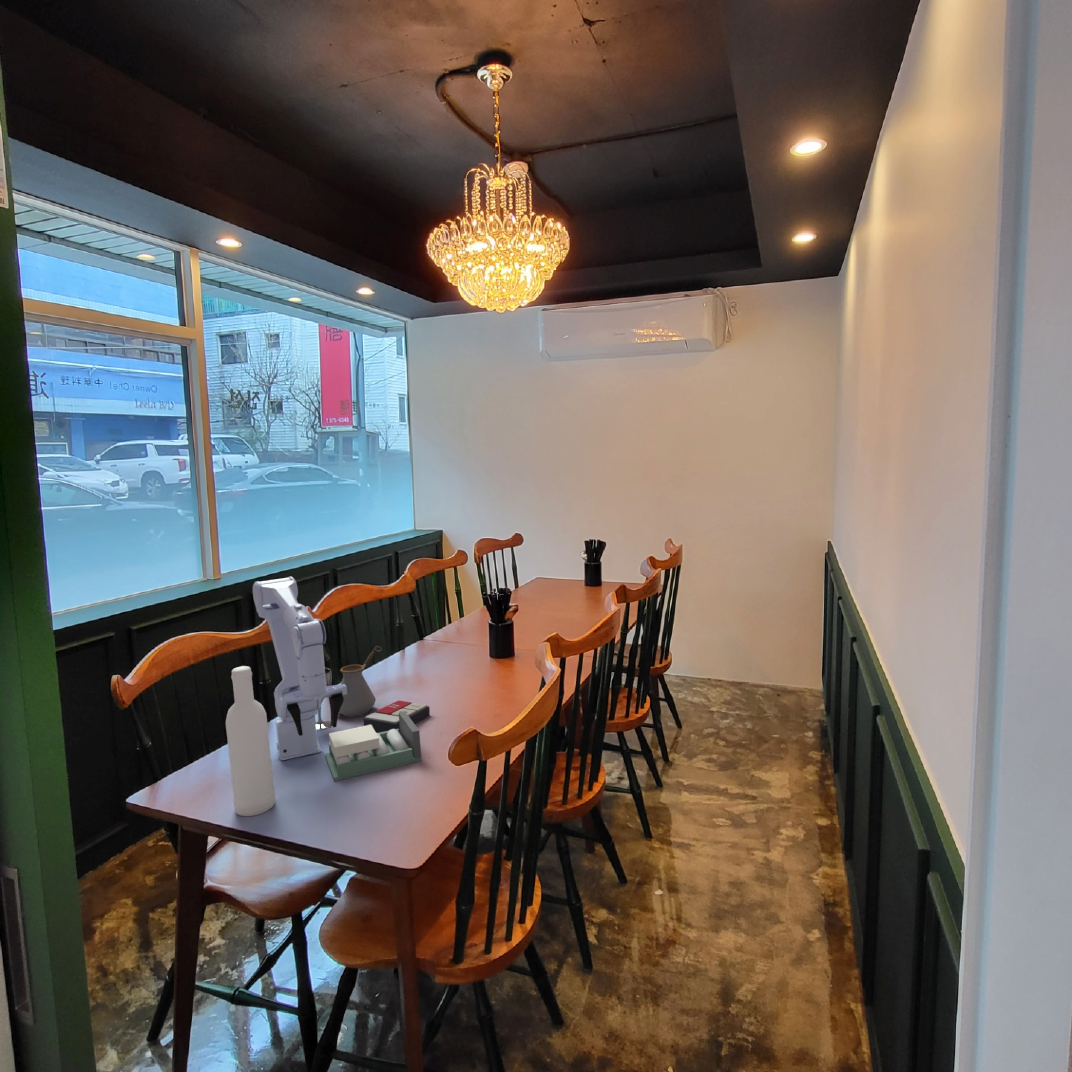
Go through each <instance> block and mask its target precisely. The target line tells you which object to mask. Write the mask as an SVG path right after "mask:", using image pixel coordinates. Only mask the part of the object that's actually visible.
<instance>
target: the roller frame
mask: <svg viewBox="0 0 1072 1072" xmlns="http://www.w3.org/2000/svg"><path fill="white" fill-rule="evenodd" d="M399 725H400V733H399V729H391V730H389V731H385V732H380V733H376V734H377V735H378V737H379V745H380V748H377V749H372V750H368V751H363V752H359V753H354V754H350V755H345V756H341V757H337V758H336V757H335V755H334V752H333V750H332V747H331V745H330V742H329V743H328V750H329V752H328V753H327V752H326V753H325V755H324V756H325V760H326V761H327V765H328V768H329V770H330V773H331V776H332V778H333V781H334V782H338V781H341V780H346V779H350V778H354V777H359V776H363V775H366V774H370V773H375V772H380V771H383V770H387V769H392V768H396V767H400V766H405V765H408V764H414V763H417V762H421V761H422V749H421V735H420V728H418V727H417V726H416V725H417V724H416V725H415V724H414V723H413V721H412V720H411V719H410V717H409V716H408V715H407V713H406V712H405V711H403V712H399Z"/></svg>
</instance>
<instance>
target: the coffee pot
mask: <svg viewBox="0 0 1072 1072" xmlns="http://www.w3.org/2000/svg"><path fill="white" fill-rule="evenodd" d="M379 648H380V650H378V649H379ZM382 649H383V648H382V646H379V645H375V647H374V648H373V649H372V651H371V652H370V653H369V655H367V658H366V659H365V661H364V663H363V665H362V664H349V665H345V666H343V667H341V668H340V670H339V671H340V673H342V676H343V677H342V679H341V681H340V685H342V684H345V685H346V687H347V694H345V695H342V696H343V697H344V701H343V703H342V706H341V708H340V711H339V714H341V715H342V714H343V715H344V716H343V715H342V716H343V717H348V718H353V717H360V715H361V716H363V714H364V715H366V714H368V713H369V712H370V710H371V709H372V708H373V707H374V706H375V703H376V700H377V699H376V697H375V695H374V693H373V691H372V689H371V688H370V686H369V685H368V682H367V681H366V678H365V677H364V675H363V671H364V670H365V668H366V666H367V665H368V664H369V663H370V661H372V659H373V657H374V655H375V653H377V652H381V651H382ZM368 711H369V712H368Z"/></svg>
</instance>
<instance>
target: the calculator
mask: <svg viewBox="0 0 1072 1072" xmlns="http://www.w3.org/2000/svg"><path fill="white" fill-rule="evenodd" d="M403 711H405V712H406V713H407V715H408V716H409V717H410V719H411V720H412V721H413V723H414V724H415V725H417V724H419V723H420V722H422V721H424V720H425V719H427V718H429V717H430V715H431V714H430V713H431V712H430V706H428V704H426V703H418V702H413V703H412V702H410V701H405V700H396V701H395V702H392V703H390V704H388V705H386V706H384V707H381V708H380V709H379V708H378V710H376V711H375V712H373V713H370V714H368V715H366V716H365V717H363V726H367V725H372V727H373V729H374V730H375V732H376V733H380V732H385V731H389V730H391V729H399V733H400V725H399V712H403Z"/></svg>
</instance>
